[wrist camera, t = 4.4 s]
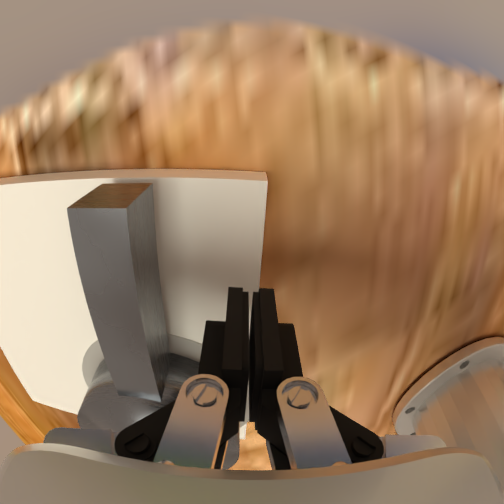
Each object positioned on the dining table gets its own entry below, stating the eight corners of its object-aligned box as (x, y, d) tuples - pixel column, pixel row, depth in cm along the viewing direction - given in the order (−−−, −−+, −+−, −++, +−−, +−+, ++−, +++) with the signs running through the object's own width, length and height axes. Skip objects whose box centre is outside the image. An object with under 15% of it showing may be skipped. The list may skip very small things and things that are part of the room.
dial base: (278, 173, 12) (282, 183, 11) (251, 425, 21) (251, 444, 19) (-38, 183, 12) (-56, 193, 10) (41, 391, 20) (34, 405, 19)
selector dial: (238, 439, 19) (237, 480, 16) (116, 424, 18) (105, 461, 15) (254, 182, 11) (256, 216, 8) (38, 183, 10) (-13, 213, 7)
